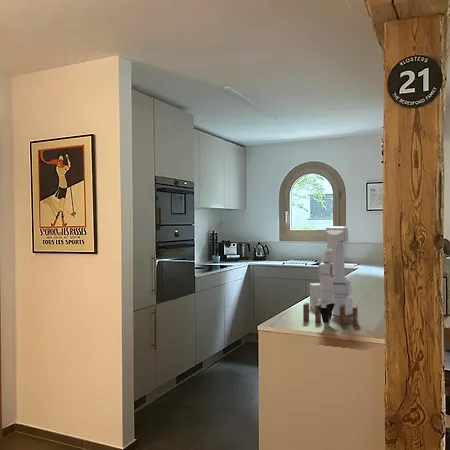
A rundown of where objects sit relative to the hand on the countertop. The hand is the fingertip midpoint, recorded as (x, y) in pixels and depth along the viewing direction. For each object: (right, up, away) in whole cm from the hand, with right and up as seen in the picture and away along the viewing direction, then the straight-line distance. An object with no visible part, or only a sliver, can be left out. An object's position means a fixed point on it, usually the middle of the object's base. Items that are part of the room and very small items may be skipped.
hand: (326, 321), depth 204 cm
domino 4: (+8, -2, +5) cm, 10 cm away
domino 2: (-2, -2, +10) cm, 10 cm away
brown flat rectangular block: (+13, -2, +3) cm, 14 cm away
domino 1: (-7, -2, +12) cm, 14 cm away
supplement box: (+4, -2, +41) cm, 41 cm away
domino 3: (0, -2, 0) cm, 2 cm away
